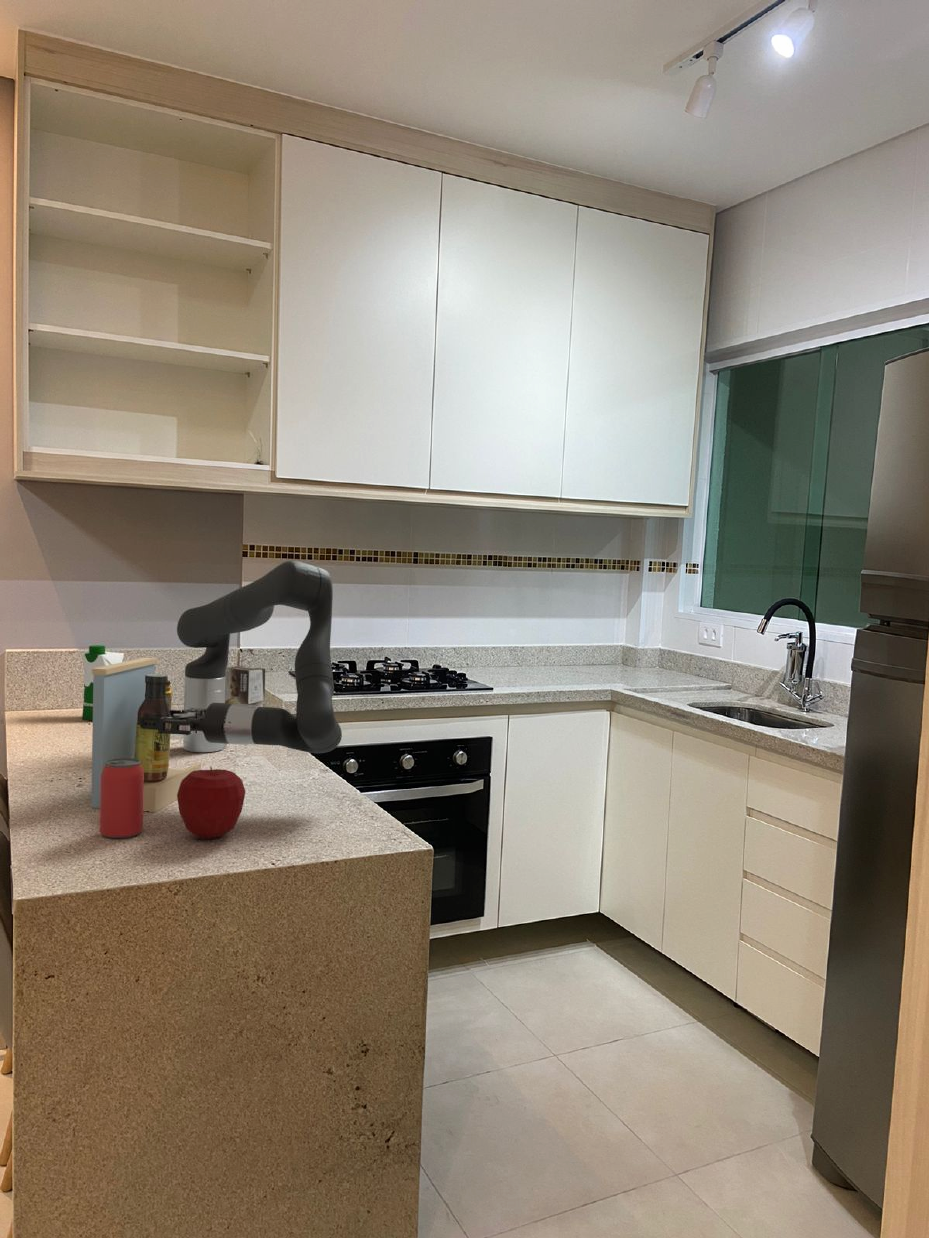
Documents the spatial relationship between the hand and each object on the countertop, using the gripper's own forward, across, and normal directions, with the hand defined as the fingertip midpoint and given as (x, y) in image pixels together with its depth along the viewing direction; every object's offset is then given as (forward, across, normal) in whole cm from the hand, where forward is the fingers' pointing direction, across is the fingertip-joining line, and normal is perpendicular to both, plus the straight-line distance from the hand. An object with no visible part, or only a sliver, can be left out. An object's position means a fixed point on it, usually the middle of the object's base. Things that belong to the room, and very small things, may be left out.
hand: (151, 718), depth 174 cm
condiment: (+29, -66, +15) cm, 73 cm away
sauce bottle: (0, 0, +12) cm, 12 cm away
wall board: (0, +1, +15) cm, 15 cm away
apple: (-21, +22, +15) cm, 34 cm away
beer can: (-6, +24, +15) cm, 29 cm away
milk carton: (+47, -69, +14) cm, 85 cm away
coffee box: (+8, -71, +15) cm, 73 cm away
